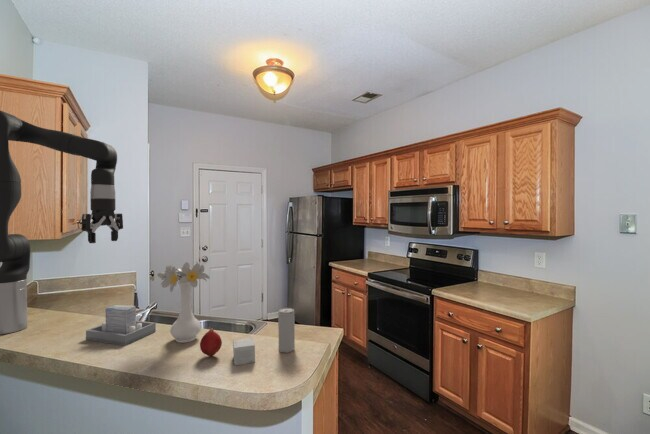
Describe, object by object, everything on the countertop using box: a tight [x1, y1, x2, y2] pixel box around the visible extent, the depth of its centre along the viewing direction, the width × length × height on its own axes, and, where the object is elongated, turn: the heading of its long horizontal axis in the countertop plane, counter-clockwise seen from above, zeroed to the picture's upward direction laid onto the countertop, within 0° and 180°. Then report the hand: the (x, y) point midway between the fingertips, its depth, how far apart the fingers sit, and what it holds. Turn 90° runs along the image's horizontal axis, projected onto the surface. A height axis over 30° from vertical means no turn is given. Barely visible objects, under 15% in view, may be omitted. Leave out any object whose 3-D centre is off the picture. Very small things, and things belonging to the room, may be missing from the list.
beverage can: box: [277, 307, 296, 354], centre depth 96 cm, size 5×5×12 cm
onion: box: [199, 328, 223, 358], centre depth 92 cm, size 6×6×8 cm
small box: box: [232, 337, 256, 366], centre depth 90 cm, size 6×6×5 cm
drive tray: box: [85, 320, 157, 346], centre depth 107 cm, size 16×12×4 cm
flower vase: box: [157, 261, 211, 344], centre depth 104 cm, size 13×18×25 cm
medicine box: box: [105, 304, 137, 335], centre depth 107 cm, size 8×4×9 cm, turn 80°
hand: (103, 242), depth 118 cm, fingers open, 8 cm apart
